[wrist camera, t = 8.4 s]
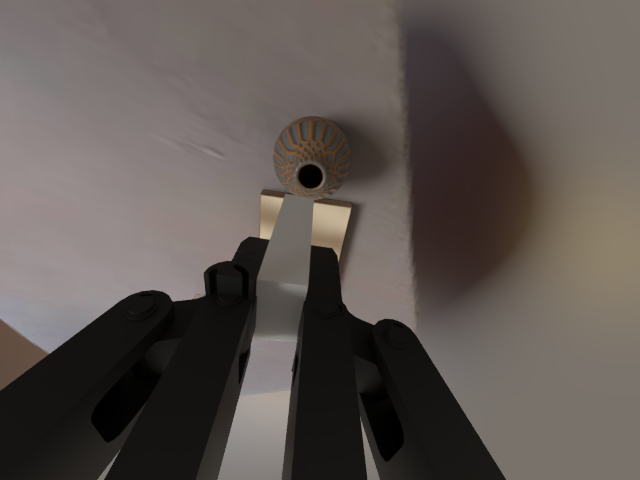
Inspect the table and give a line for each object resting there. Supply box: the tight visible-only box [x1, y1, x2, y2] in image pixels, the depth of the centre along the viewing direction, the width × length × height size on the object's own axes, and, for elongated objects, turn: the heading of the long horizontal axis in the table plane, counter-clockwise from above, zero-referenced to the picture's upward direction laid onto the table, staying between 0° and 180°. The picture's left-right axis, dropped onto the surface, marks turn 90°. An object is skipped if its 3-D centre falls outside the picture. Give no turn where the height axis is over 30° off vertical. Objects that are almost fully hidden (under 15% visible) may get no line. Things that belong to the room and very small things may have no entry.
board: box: [259, 190, 352, 263], centre depth 33 cm, size 22×10×2 cm, turn 171°
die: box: [193, 294, 205, 299], centre depth 35 cm, size 4×4×5 cm
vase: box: [273, 116, 352, 200], centre depth 21 cm, size 7×7×9 cm
